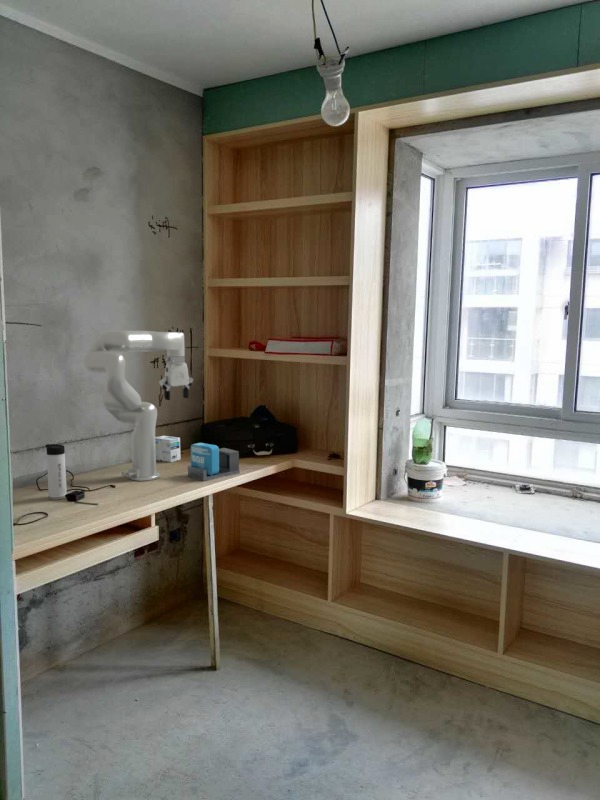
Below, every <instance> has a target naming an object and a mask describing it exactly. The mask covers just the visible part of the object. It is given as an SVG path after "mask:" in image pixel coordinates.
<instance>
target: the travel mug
mask: <svg viewBox="0 0 600 800" xmlns="http://www.w3.org/2000/svg"><path fill="white" fill-rule="evenodd" d="M44 447H45V448H46V465H47V466H46V467H47V469H46V471H47V487H48V488H47V489H48V499H49V500H51V501H60V500H63V498H64V499H66V498H65V495H66V494H67V492H68V491H67V473H66V472H67V471H66V469H67V468H66V453H65V446H64V445H62V444H55V443H54V444H53V443H51V444H50V443H47V444H45V445H44ZM67 495H68V494H67ZM59 499H60V500H59Z"/></svg>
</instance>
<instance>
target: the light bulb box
mask: <svg viewBox="0 0 600 800" xmlns="http://www.w3.org/2000/svg"><path fill="white" fill-rule="evenodd" d="M155 447H156V461H160V460H162V461H161V462H166V461H167V462H168V463H175V462H177V460H178V461H181V456H182V455H181V437H176V436H169V435H161V436H155ZM167 462H166V463H167Z"/></svg>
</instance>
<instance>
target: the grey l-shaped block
mask: <svg viewBox="0 0 600 800" xmlns="http://www.w3.org/2000/svg"><path fill="white" fill-rule="evenodd" d="M239 452H240V451H238V450H234V449H231V448H226V447H222V448H219V472H218V473H217V474H213V475H207V474H206V470H205V469H202V468H198V467H195V466H192V465H191V464H190V465H187V477H189V478H192V479H195V480H198V479H199V481H201V480H202V482H207V481H211V480H215V478H216V479H219V478H220V477H221V478H224V477H223V476H225V477H229V476H228V475H230V476H233V475H239V474H240V473H241V470H240V453H239Z"/></svg>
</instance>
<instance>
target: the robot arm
mask: <svg viewBox="0 0 600 800" xmlns="http://www.w3.org/2000/svg"><path fill="white" fill-rule="evenodd" d="M159 351H160V352H161V351H166V352H167V353H166V354H167V355H166V358H165V359H164V361H165V362H167V363H166V365H165V369H164V377H163V378H162V379H160V380H159V381H158V383H159V385H160V388H161V389H162V390H163V392H164V394H163V395H164V400H166V401H170V400H171V391H170V389H171V388H173V387H181V386H182V387H183V389H182V394H183V395H182V397H183V398H185V399H189V398H190V397H189V396H190V393H189V392H190V391H189V390H190V389H191V387H192V385H193V381H194V378H192V377H191V376H190V375H189V368H188V365H187V363H186V362H185V361H186V360H185V359H186V356H185V355H186V354H185V353H186V351H185V333H184V332H181V331H153V330H152V331H151V330H105V331H103V332H102V333H101V334H100V335H99V336H98V337H97V338H96V340H95V341H94V342H93V343H92V345H91V346H90V348H89V349H88V350H87V351H86V353H85V355H84V357H83V365H84V368H85V370H86V371H88V372H90V373H94V374H95V373H96V374H106V380H105V383H104V390H103V391H102V393H101V396H100V397H101V399H100V400H101V403H102V406H103V408H104V410H106V411H107V412H108V413H109V414H111V416H112V417H113V418H115V419H116V420H117V421H118V422H120V423H123V424H125V425H127V424H129V425H135V427H134V429H133V430H132V433H131V458H132V460H131V462H132V463H131V464H132V465H131V466H130V468H129V469H128V470H124V471H123V470H122V471H121V476H122V477H125V476H128V479H129V480H132V481H138V482H140V481H141V482H142V481H153V480H156V479H158V478H161V473H160V472H159V471H157V460H156V447H155V437H156V426H157V424H156V423H157V419H158V409H157V407H156V406H155V405H154V404H153V403H151V402H147V401H142V398H141V396H140V394H139V393H138V392H137V390H135V389H134V387H132V385H131V384H130V383H129V382H128V381H127V380H126V377H125V375H126V360H125V357H124V356H123V354H121V353H139V352H140V353H141V352H148V353H149V352H159Z"/></svg>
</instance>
